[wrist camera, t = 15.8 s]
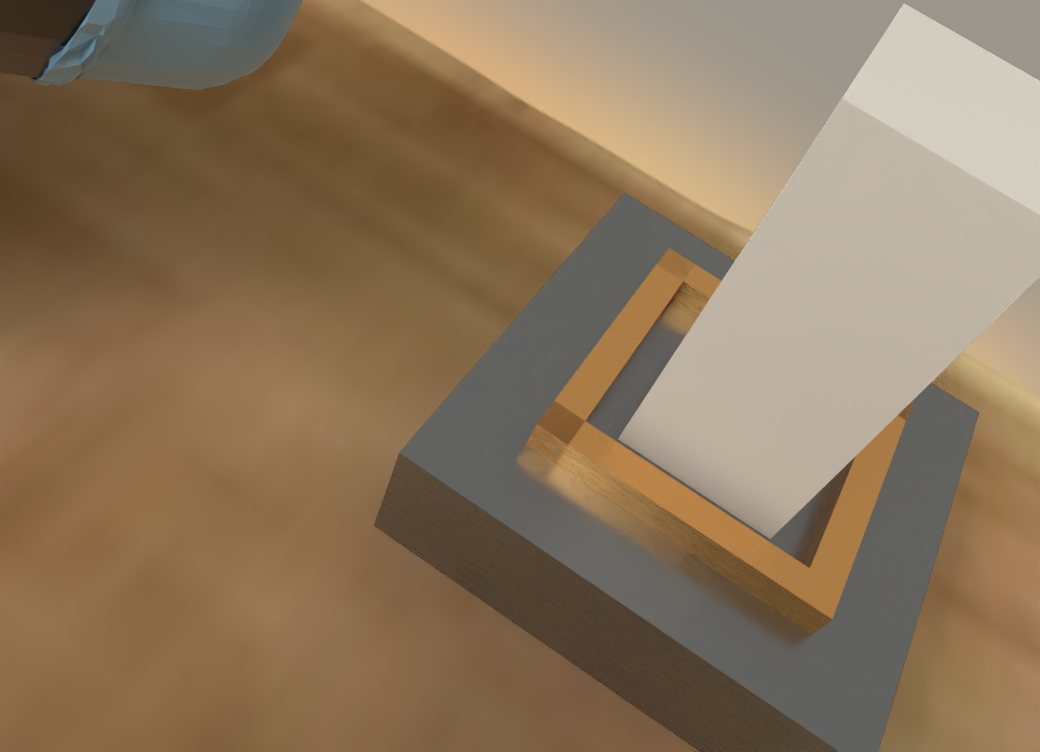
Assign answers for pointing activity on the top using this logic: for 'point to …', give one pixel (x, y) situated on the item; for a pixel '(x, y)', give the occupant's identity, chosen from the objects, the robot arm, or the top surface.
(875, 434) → the column
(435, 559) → the jig plate
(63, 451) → the top surface
